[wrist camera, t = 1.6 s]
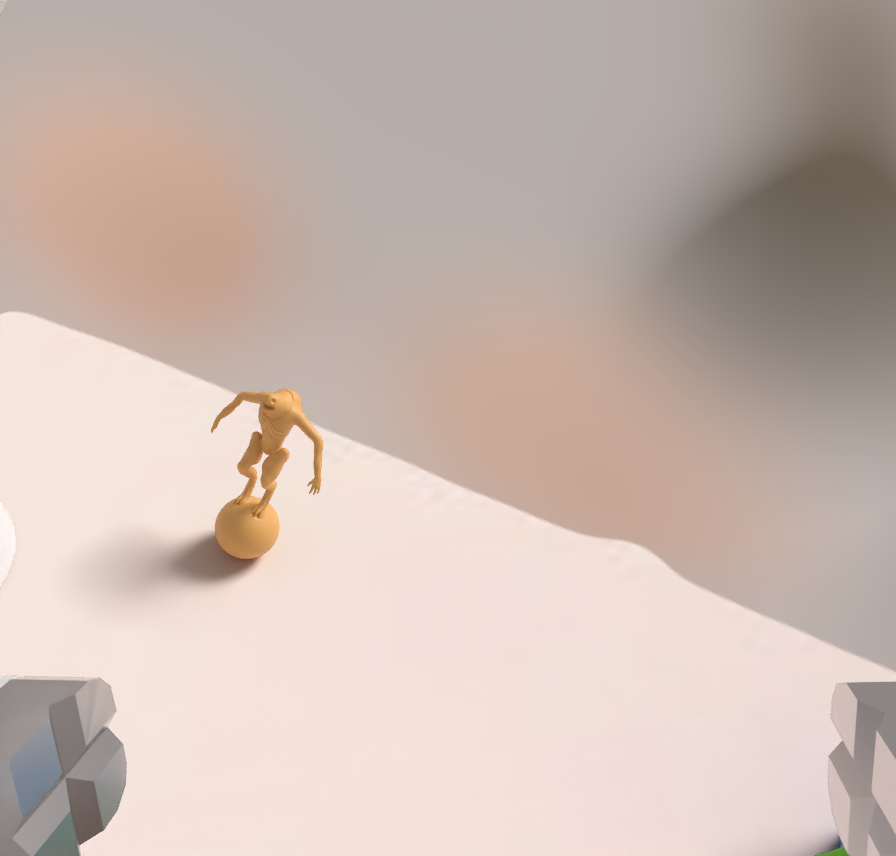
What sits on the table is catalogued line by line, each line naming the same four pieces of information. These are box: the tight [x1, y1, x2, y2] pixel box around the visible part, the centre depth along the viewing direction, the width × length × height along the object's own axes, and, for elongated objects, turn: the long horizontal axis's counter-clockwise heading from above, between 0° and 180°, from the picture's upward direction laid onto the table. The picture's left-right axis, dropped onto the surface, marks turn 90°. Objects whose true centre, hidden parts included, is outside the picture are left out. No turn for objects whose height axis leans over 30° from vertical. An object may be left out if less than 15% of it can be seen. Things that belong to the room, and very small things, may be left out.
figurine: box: [211, 389, 323, 559], centre depth 49 cm, size 8×6×12 cm
